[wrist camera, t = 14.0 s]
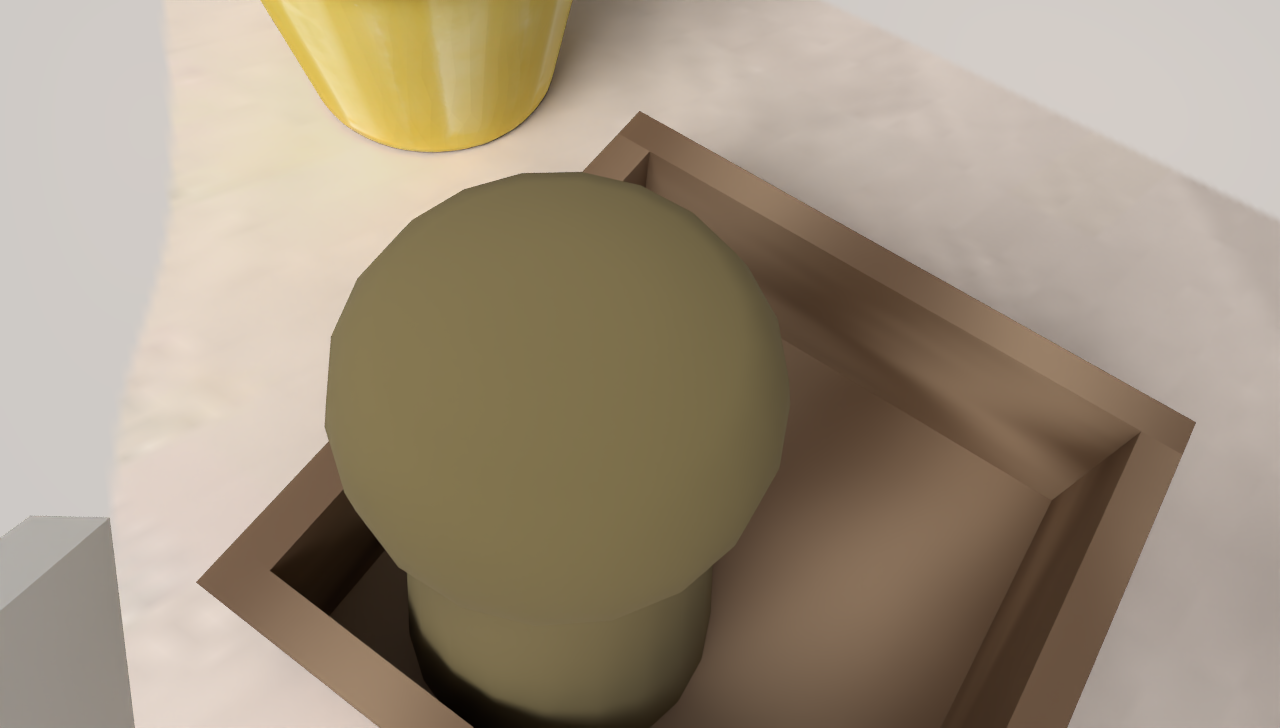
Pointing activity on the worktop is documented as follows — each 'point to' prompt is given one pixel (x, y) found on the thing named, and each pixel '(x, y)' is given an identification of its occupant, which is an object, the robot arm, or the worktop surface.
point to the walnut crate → (820, 503)
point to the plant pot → (426, 64)
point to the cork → (557, 440)
